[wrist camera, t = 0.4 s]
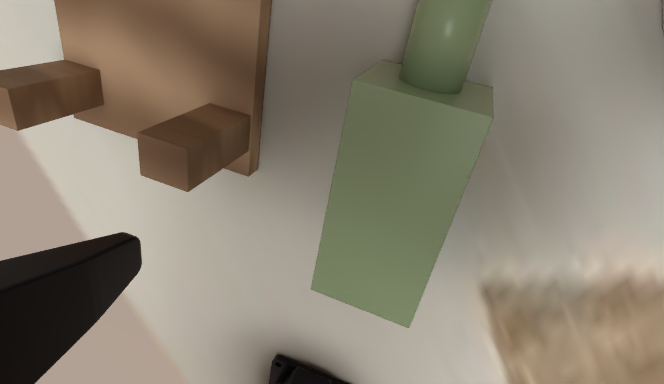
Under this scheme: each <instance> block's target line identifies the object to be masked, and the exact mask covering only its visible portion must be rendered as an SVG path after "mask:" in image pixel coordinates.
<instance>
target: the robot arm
mask: <svg viewBox="0 0 664 384" xmlns="http://www.w3.org/2000/svg"><path fill="white" fill-rule="evenodd" d="M141 265H142V258H141V244H140V240H139V238H137V237H136V236H133V235H131V234H128V233H124V232H121V233H117V234H112V235H108V236H104V237H100V238H95V239H91V240H87V241H83V242H78V243H74V244H70V245H66V246H61V247H57V248H53V249H49V250H44V251H40V252H36V253H32V254H28V255H23V256H19V257H15V258H10V259H6V260H2V261H0V384H35V383H36V382H37V381H38V380H39V379H40V377H41V376H43V374H45V373H46V372H47V371H48V370H49V369H50V368H51V367H52V366H53V365H54V364H55V363H56V362H57V361H58V360H59V359H60V358H61V357H62V356H63V355H64V354H65V353H66V352H67V351H68V350H69V349H70V348H71V347H72V346H73V345H74V344H75V343H76V342H77V341H78V340H79V339H80V338H81V337H82V336H83V335H84V334H85V333H86V332H87V331H88V330H89V329H90V328H91V327H92V326H93V325H94V324H95V323H96V322H97V321H98V320H99V319H100V317H101V316H102V315H103V314H104V313H105V312H106V310H107V309H108V308H109V307H110V306H111V305H112V303H113V302H114V301H115V300H116V299H117V297H118V296H119V295H120V294H121V293H122V291H123V290H124V289H125V288H126V287H127V286H128V284H129V283H130V282H131V281H132V280H133V278H134V277H135V276H136V275H137V274H138V272H139V270H140V268H141ZM269 384H345V383H343V382H340V381H338V380H336V379H333V378H331V377H329V376H327V375H324V374H322V373H320V372H317V371H315V370H313V369H310V368H308V367H306V366H304V365H301V364H299V363H297V362H294V361H292V360H290V359H288V358H285V357H283V356H280V355H276V356H275V357H274V359H273V361H272V366H271V373H270V380H269Z"/></svg>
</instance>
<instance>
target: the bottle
mask: <svg viewBox="0 0 664 384" xmlns="http://www.w3.org/2000/svg"><path fill="white" fill-rule="evenodd" d="M491 2H492V0H419V1H418V5H417V9H416V12H415V16H414V20H413V24H412V28H411V32H410V36H409V39H408V43H407V47H406V51H405V55H404V59H403V63H402V64H398V63H394V62H390V61H386V60H382V61H380V62H379V63H377V64H376V65H374V66H373V67H371V68H370V69H368V70H367V71H365V72H364V73H362V74H361V75H359V76H357V77H356V78H354V79H353V81H352V86H351V91H350V96H349V101H348V106H347V111H346V116H345V121H344V126H343V131H342V136H341V141H340V146H339V151H338V156H337V161H336V166H335V171H334V176H333V181H332V186H331V191H330V196H329V201H328V206H327V211H326V216H325V221H324V226H323V231H322V236H321V241H320V246H319V251H318V256H317V261H316V266H315V270H314V275H313V280H312V285H311V290H314V291H316V292H319V293H321V294H324V295H326V296H329V297H331V298H334V299H336V300H339V301H341V302H344V303H346V304H349V305H352V306H354V307H357V308H359V309H362V310H364V311H367V312H369V313H372V314H374V315H377V316H379V317H382V318H384V319H387V320H389V321H392V322H394V323H397V324H399V325H402V326H404V327H407V328H409V327H410V325H411V322H412V320H413V317H414V315H415V312H416V310H417V307H418V305H419V302H420V300H421V297H422V295H423V292H424V290H425V287H426V285H427V282H428V280H429V277H430V275H431V272H432V270H433V267H434V265H435V262H436V260H437V257H438V255H439V252H440V250H441V247H442V245H443V242H444V240H445V237H446V235H447V232H448V230H449V227H450V225H451V222H452V220H453V217H454V215H455V212H456V210H457V207H458V205H459V202H460V200H461V198H462V195H463V193H464V190H465V188H466V185H467V183H468V180H469V178H470V175H471V173H472V170H473V168H474V165H475V163H476V160H477V158H478V155H479V153H480V150H481V148H482V145H483V143H484V140H485V138H486V135H487V133H488V130H489V128H490V125H491V123H492V120H493V118H494V115H493V89H492V87H489V86H485V85H481V84H477V83H473V82H469V81H465V78H466V75H467V72H468V69H469V66H470V63H471V60H472V57H473V54H474V52H475V49H476V46H477V43H478V40H479V37H480V34H481V31H482V28H483V25H484V23H485V20H486V17H487V14H488V11H489V8H490V5H491Z"/></svg>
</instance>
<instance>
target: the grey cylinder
mask: <svg viewBox="0 0 664 384" xmlns="http://www.w3.org/2000/svg"><path fill="white" fill-rule="evenodd" d="M662 21H663V30H664V0H662Z"/></svg>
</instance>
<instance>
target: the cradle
mask: <svg viewBox="0 0 664 384" xmlns="http://www.w3.org/2000/svg"><path fill="white" fill-rule="evenodd" d="M54 2H55V7H56V13H57V19H58V25H59V31H60V37H61V43H62V49H63V55H64V60H61V61H55V62H49V63H43V64H37V65H31V66H25V67H18V68H12V69H6V70H0V125H3V126H6V127H9V128H11V129H14V130H17V131H19V130H22V129H25V128H29V127H32V126H35V125H39V124H42V123H45V122H49V121H52V120H55V119H59V118H62V117H65V116H69V115H72V114H74V118H76V119H79V120H82V121H85V122H88V123H91V124H94V125H97V126H100V127H103V128H106V129H109V130H112V131H115V132H118V133H121V134H124V135H127V136H130V137H133V138H136V139H138V149H139V161H140V173H141V175H142V176H145V177H147V178H150V179H153V180H156V181H159V182H161V183H164V184H167V185H170V186H172V187H175V188H178V189H181V190H184V191H186V192H189V191H190V190H192V189H193V188H195V187H196V186H198V185H199V184H201V183H202V182H204V181H205V180H207V179H208V178H209V177H211V176H212V175H214V174H215V173H217V172H218V171H220V170H221V169H223V168H225V169H228V170H230V171H233V172H236V173H239V174H242V175H245V176H250V175H251V174H252V173H253V172H255V171H256V170H257V167H258V155H259V143H260V131H261V119H262V107H263V95H264V83H265V71H266V59H267V47H268V35H269V23H270V11H271V0H54Z"/></svg>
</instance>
